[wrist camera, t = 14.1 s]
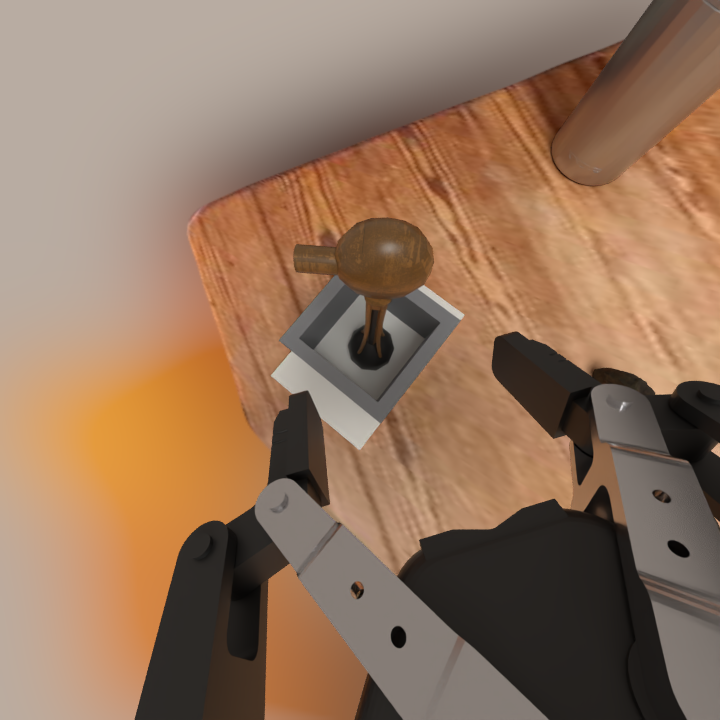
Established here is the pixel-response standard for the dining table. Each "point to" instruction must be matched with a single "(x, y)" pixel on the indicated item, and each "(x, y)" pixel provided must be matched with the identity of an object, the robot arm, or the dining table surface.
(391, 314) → the socket board
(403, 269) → the wooden tabletop sculpture
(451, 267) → the dining table surface
